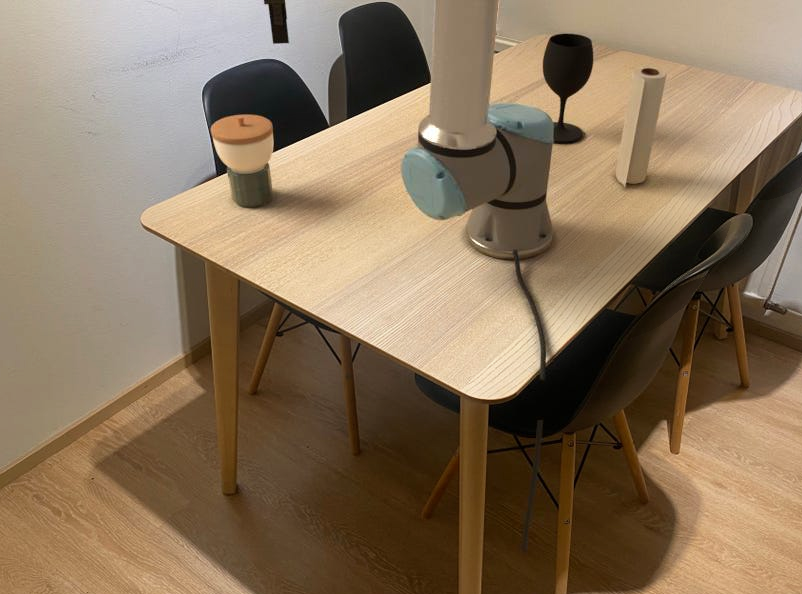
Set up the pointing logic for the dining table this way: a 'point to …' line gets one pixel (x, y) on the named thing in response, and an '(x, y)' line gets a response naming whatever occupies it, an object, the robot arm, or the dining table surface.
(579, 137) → the wine glass
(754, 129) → the dining table surface
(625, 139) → the paper towel roll
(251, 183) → the grey-green hollow cylinder
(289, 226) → the dining table surface
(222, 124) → the trinket box
